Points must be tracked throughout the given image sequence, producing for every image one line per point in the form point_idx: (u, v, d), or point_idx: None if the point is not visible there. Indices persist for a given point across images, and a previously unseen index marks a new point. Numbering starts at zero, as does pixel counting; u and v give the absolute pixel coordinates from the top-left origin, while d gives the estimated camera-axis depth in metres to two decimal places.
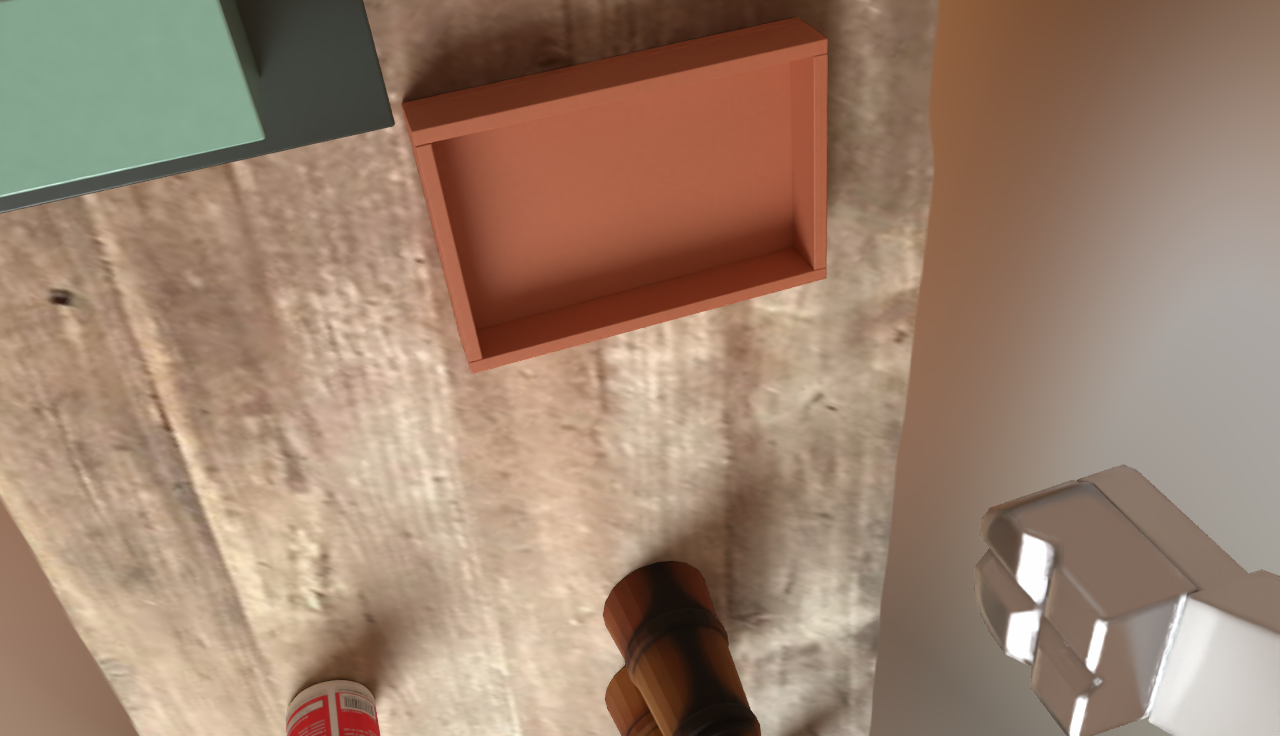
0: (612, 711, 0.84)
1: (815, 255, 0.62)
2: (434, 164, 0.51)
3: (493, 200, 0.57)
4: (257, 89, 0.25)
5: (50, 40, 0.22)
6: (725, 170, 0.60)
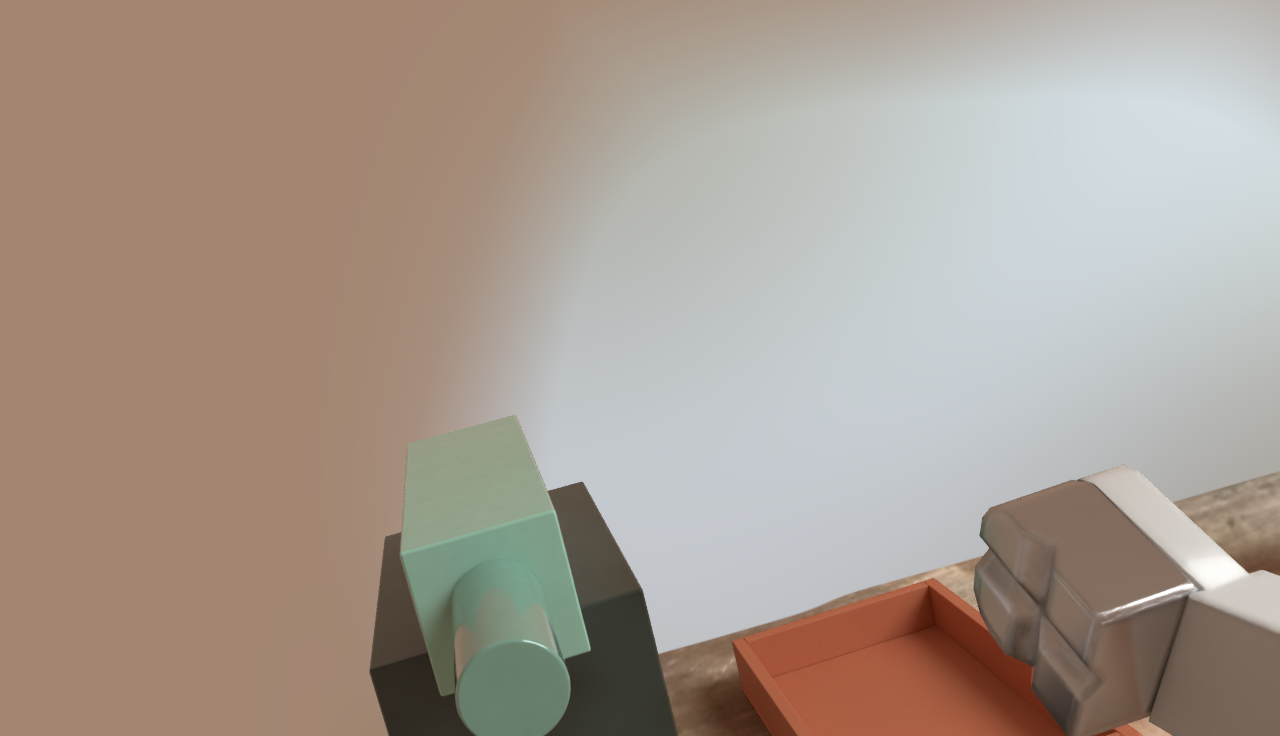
0: None
1: (914, 589, 0.71)
2: None
3: None
4: None
5: (433, 459, 0.35)
6: (876, 679, 0.67)
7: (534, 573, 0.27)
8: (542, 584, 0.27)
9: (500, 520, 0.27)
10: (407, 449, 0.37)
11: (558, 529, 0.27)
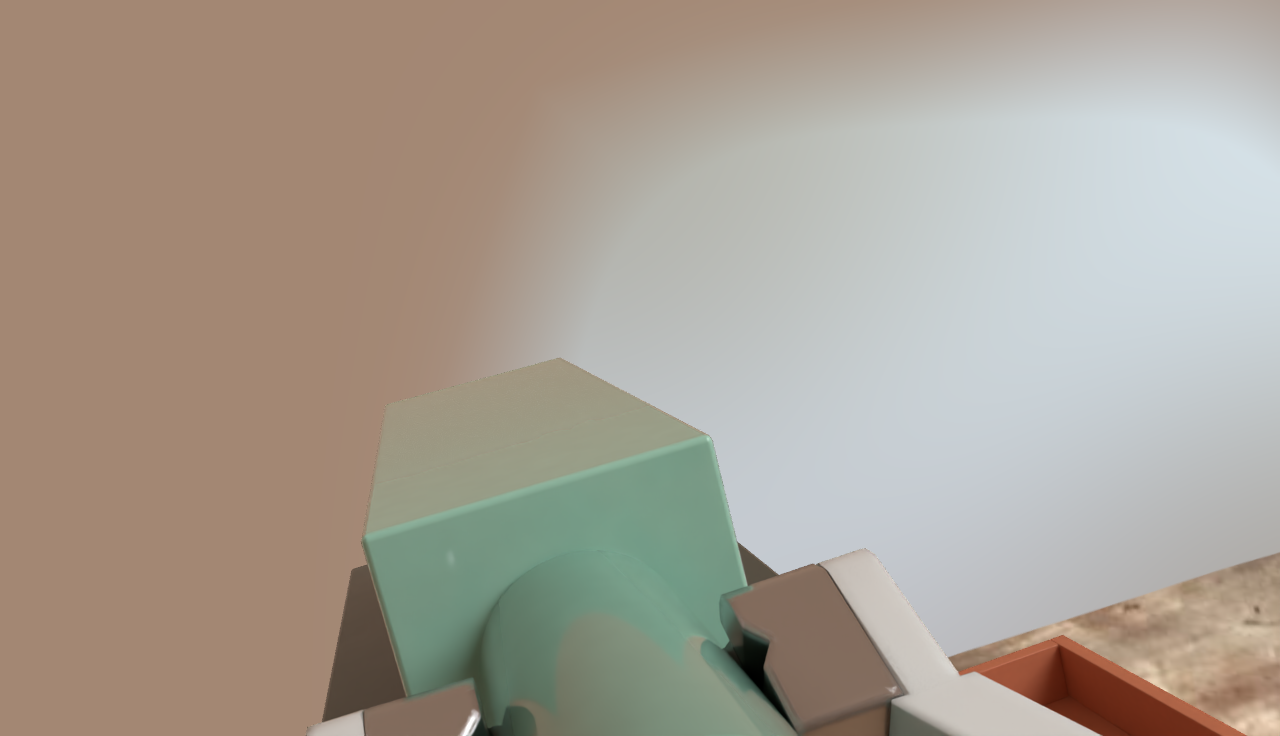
0: None
1: (1040, 649, 0.56)
2: None
3: None
4: None
5: (430, 413, 0.20)
6: None
7: (668, 580, 0.12)
8: None
9: (589, 462, 0.12)
10: (385, 410, 0.22)
11: (719, 480, 0.12)
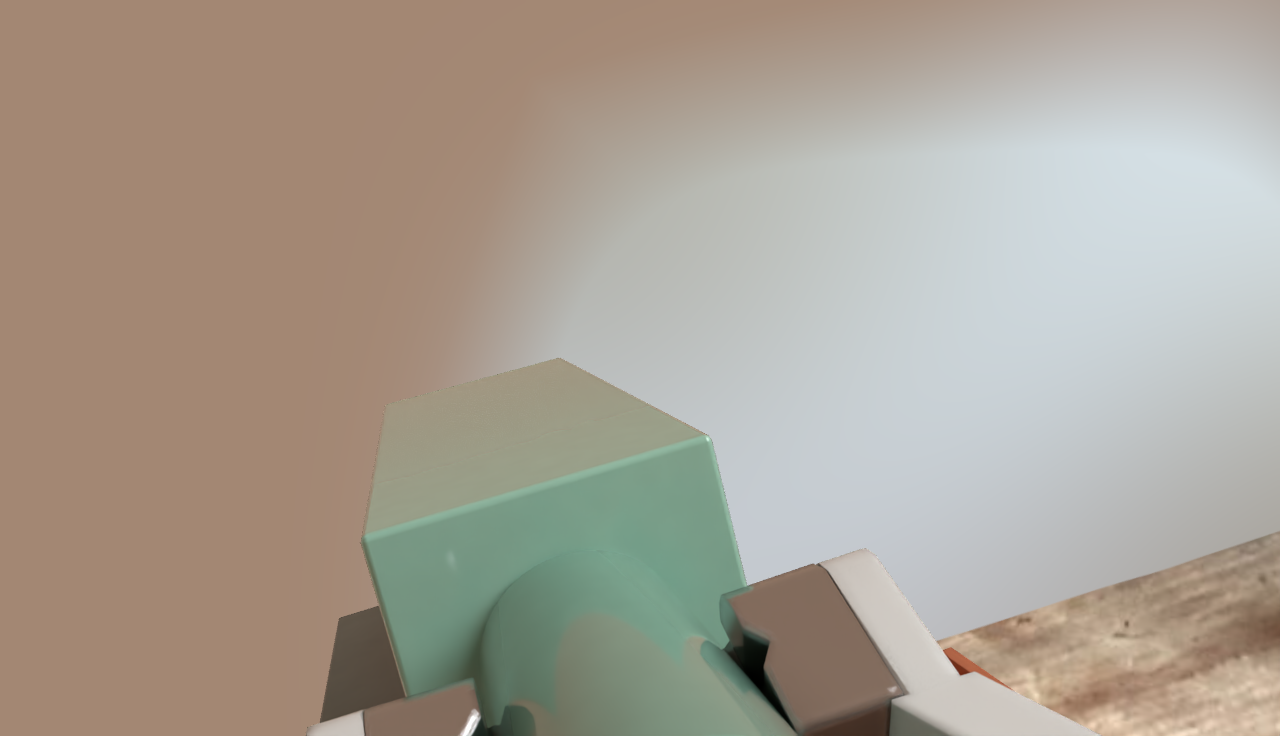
0: None
1: None
2: None
3: None
4: None
5: (429, 413, 0.20)
6: None
7: (667, 581, 0.12)
8: None
9: (588, 463, 0.12)
10: (384, 410, 0.22)
11: (718, 480, 0.12)
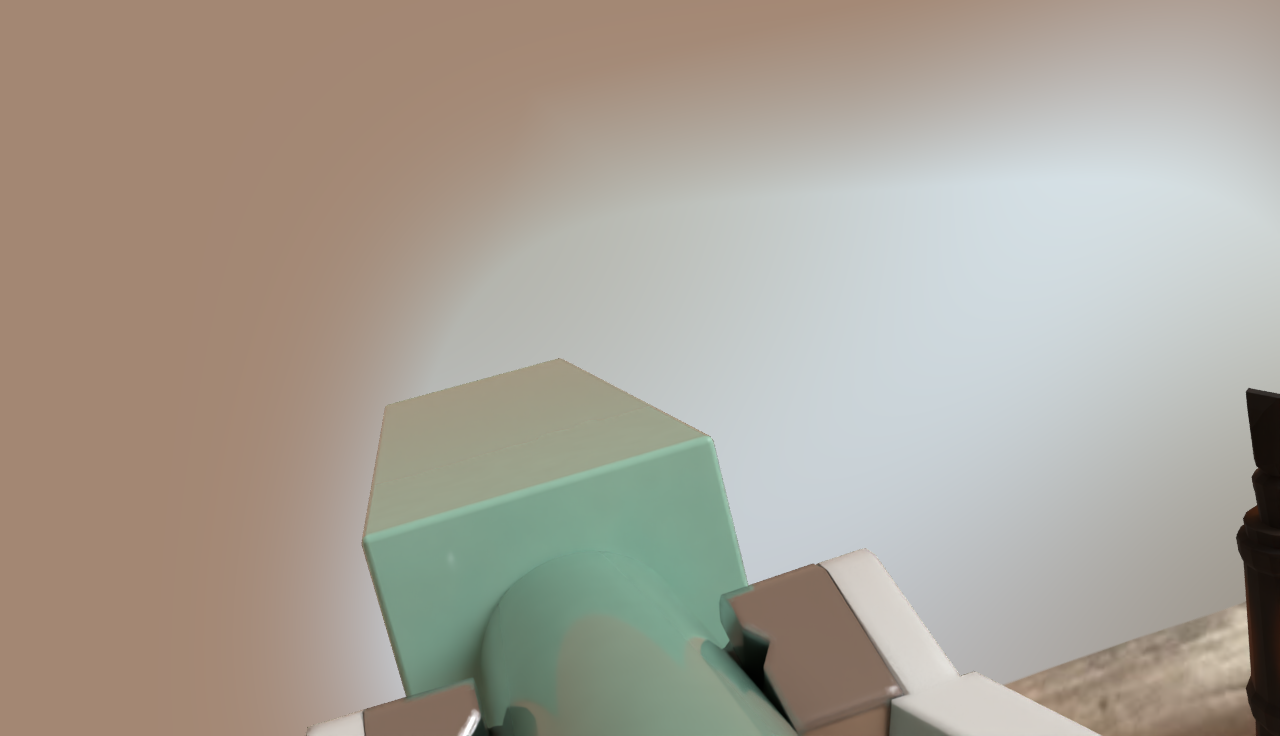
0: None
1: None
2: None
3: None
4: None
5: (430, 413, 0.20)
6: None
7: (668, 582, 0.12)
8: None
9: (590, 463, 0.12)
10: (385, 410, 0.22)
11: (720, 481, 0.12)
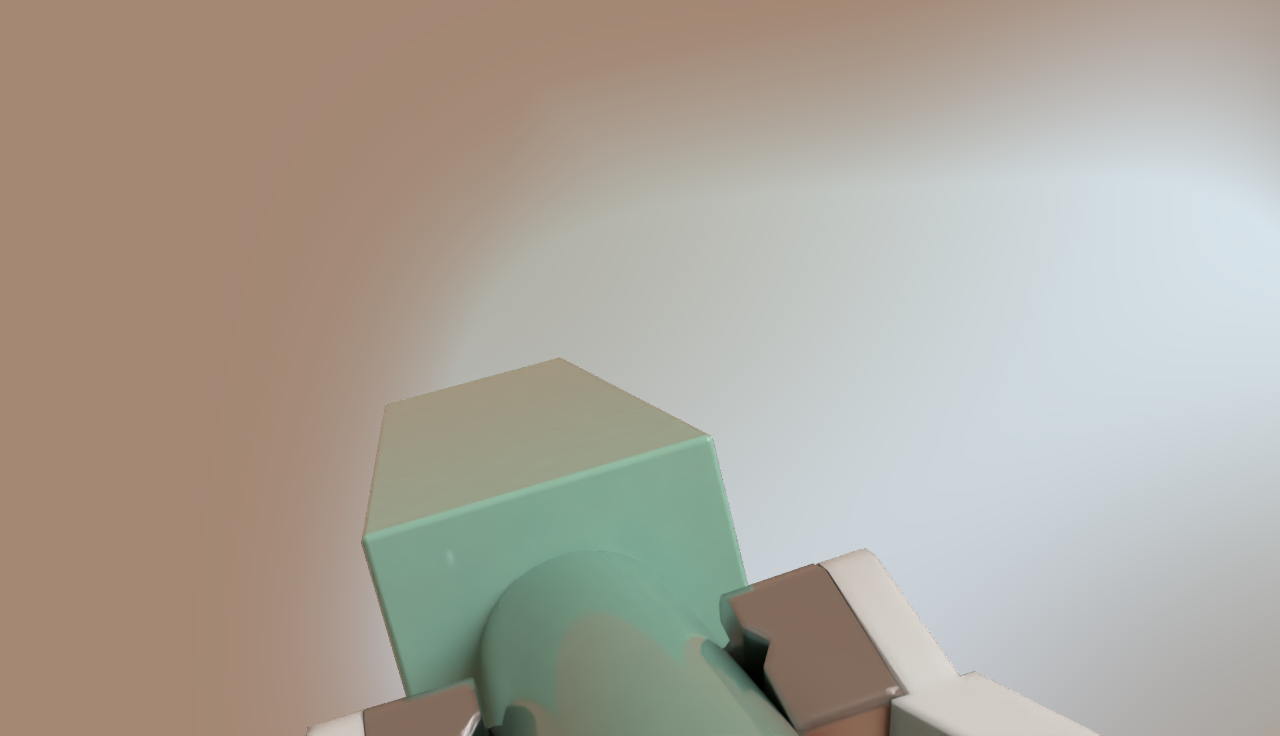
0: None
1: None
2: None
3: None
4: None
5: (429, 412, 0.20)
6: None
7: (668, 581, 0.12)
8: None
9: (589, 463, 0.12)
10: (385, 410, 0.22)
11: (719, 480, 0.12)
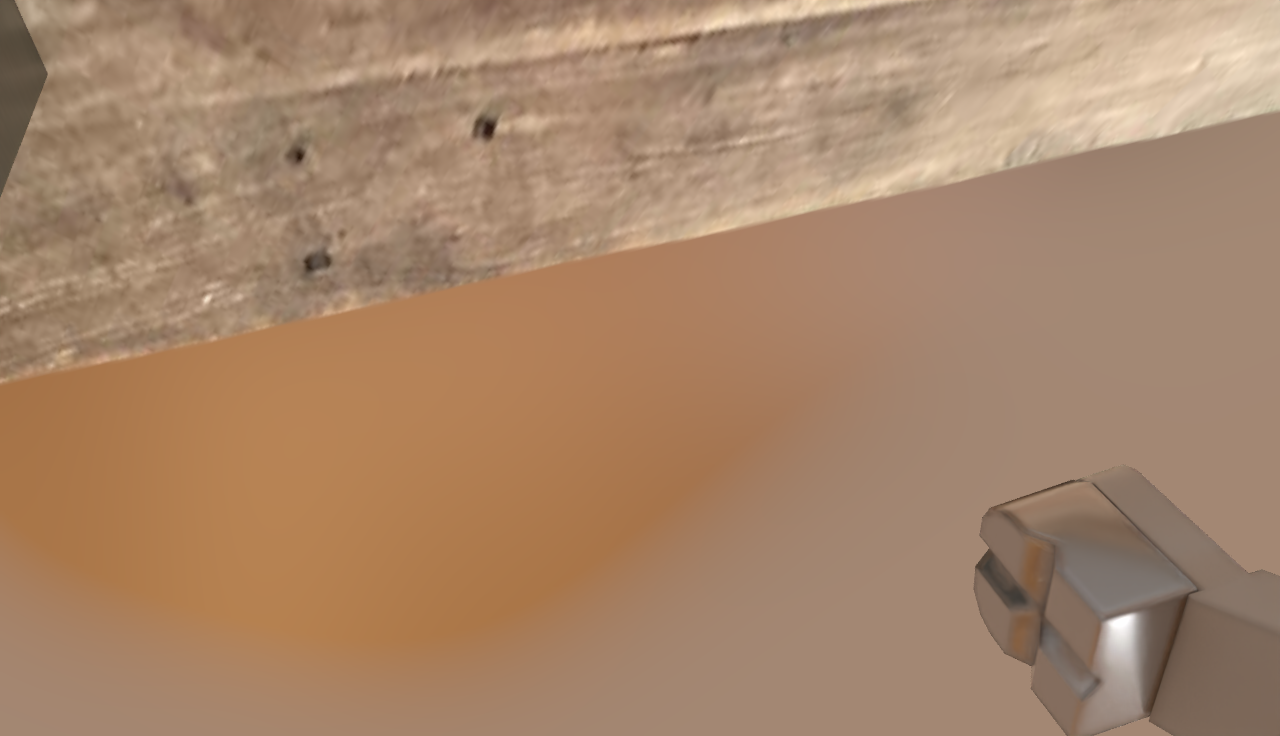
0: None
1: None
2: None
3: None
4: None
5: None
6: None
7: None
8: None
9: None
10: None
11: None
